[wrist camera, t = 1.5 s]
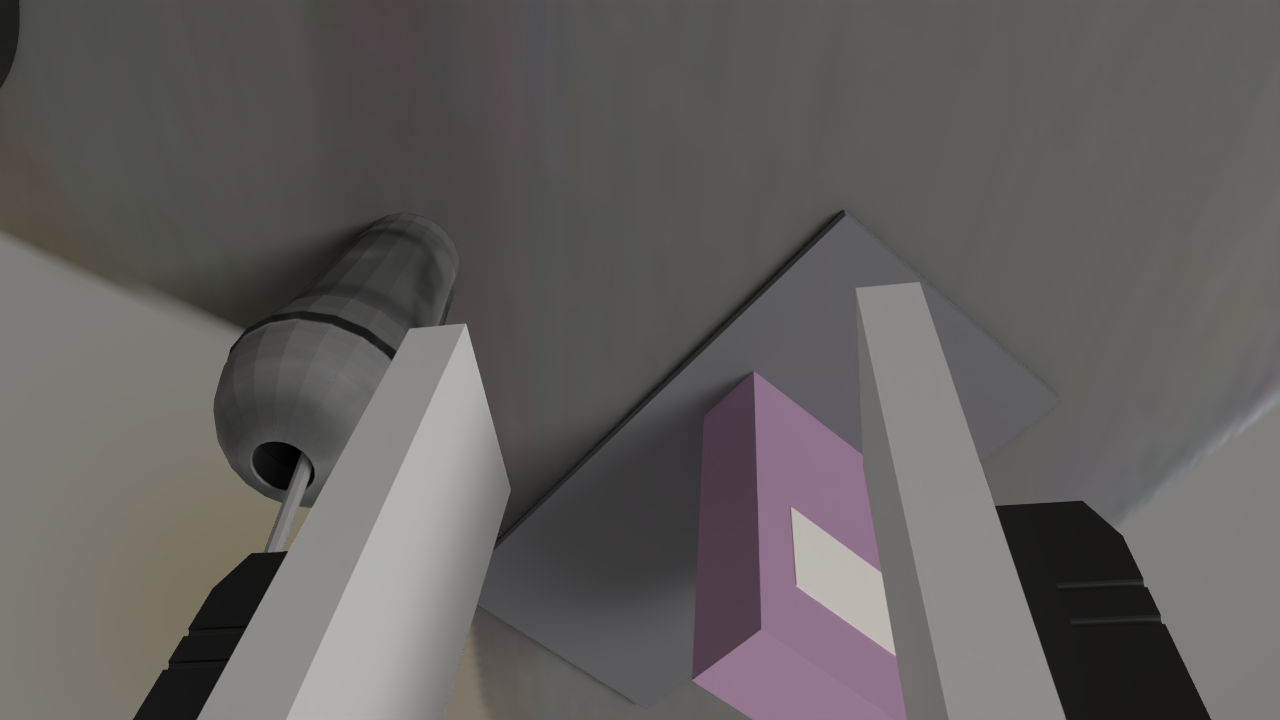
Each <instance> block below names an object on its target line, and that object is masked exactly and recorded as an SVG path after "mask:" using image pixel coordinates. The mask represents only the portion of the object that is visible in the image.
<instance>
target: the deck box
mask: <svg viewBox="0 0 1280 720" xmlns="http://www.w3.org/2000/svg"><path fill="white" fill-rule="evenodd" d="M692 681H694V682H695V683H697V684H698V685H700V686H701V687H703V688H704V689H706V690H708V691H709V692H711V693H712V694H714V695H715V696H717V697H718V698H720V699H722V700H723V701H725V702H726V703H728V704H729V705H731V706H733V707H734V708H736V709H737V710H739V711H740V712H742V713H743V714H745V715H747V716H748V717H750V718H751V719H753V720H907V717H906V711H905V705H904V699H903V694H902V688H901V682H900V676H899V671H898V665H897V659H896V653H895V647H894V642H893V636H892V630H891V624H890V619H889V613H888V607H887V601H886V596H885V590H884V584H883V578H882V573H881V567H880V561H879V555H878V550H877V544H876V538H875V532H874V527H873V521H872V515H871V509H870V504H869V498H868V492H867V486H866V481H865V475H864V469H863V455H862V454H861V453H859V452H858V451H857V450H855V449H854V448H853V447H852V446H850V445H849V444H848V443H846V442H845V441H844V440H843V439H841V438H840V437H839V436H837V435H836V434H835V433H834V432H832V431H831V430H830V429H828V428H827V427H826V426H825V425H823V424H822V423H821V422H819V421H818V420H817V419H815V418H814V417H813V416H812V415H810V414H809V413H808V412H806V411H805V410H804V409H803V408H801V407H800V406H799V405H797V404H796V403H795V402H794V401H792V400H791V399H790V398H788V397H787V396H786V395H785V394H783V393H782V392H781V391H779V390H778V389H777V388H775V387H774V386H773V385H772V384H770V383H769V382H768V381H766V380H765V379H764V378H763V377H761V376H760V375H759V374H757V373H756V372H755V371H753V372H752V373H751V374H750V375H749V376H748V377H746V378H745V379H744V380H743V381H742V382H741V383H740V384H739V385H738V386H737V387H735V388H734V389H733V390H732V391H731V392H730V393H729V394H728V395H727V396H726V397H724V398H723V399H722V400H721V401H720V402H719V403H718V404H717V405H716V406H715V407H713V408H712V409H711V410H710V411H709V412H708V413H707V414H706V415H705V416H704V426H703V448H702V470H701V492H700V514H699V536H698V558H697V580H696V602H695V624H694V646H693V668H692Z"/></svg>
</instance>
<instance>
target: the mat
mask: <svg viewBox="0 0 1280 720" xmlns="http://www.w3.org/2000/svg"><path fill="white" fill-rule="evenodd" d="M914 282H920V284H921V287H922V290H923V293H924V296H925V299H926V302H927V305H928V308H929V311H930V314H931V317H932V320H933V323H934V326H935V329H936V332H937V335H938V338H939V341H940V344H941V347H942V350H943V353H944V356H945V359H946V362H947V365H948V368H949V371H950V374H951V377H952V380H953V383H954V386H955V389H956V392H957V395H958V398H959V401H960V404H961V407H962V410H963V413H964V416H965V419H966V422H967V425H968V428H969V431H970V434H971V437H972V440H973V443H974V446H975V449H976V452H977V455H978V458H979V461H980V462H981V461H983V460H984V459H985V458H987V457H988V456H989V455H991V454H992V453H993V452H995V451H996V450H997V449H999V448H1000V447H1001V446H1003V445H1004V444H1005V443H1007V442H1008V441H1010V440H1011V439H1012V438H1014V437H1015V436H1016V435H1018V434H1019V433H1020V432H1022V431H1023V430H1024V429H1026V428H1027V427H1028V426H1030V425H1031V424H1032V423H1034V422H1035V421H1037V420H1038V419H1039V418H1041V417H1042V416H1043V415H1045V414H1046V413H1047V412H1049V411H1050V410H1051V409H1053V408H1054V407H1055V406H1057V405H1058V404H1059V403H1061V400H1060V398H1059V396H1058V394H1057V393H1055V392H1054V391H1053V390H1052V389H1051V388H1050V387H1048V386H1047V385H1046V384H1045V383H1044V382H1043V381H1042V380H1040V379H1039V378H1038V377H1037V376H1036V375H1035V374H1033V373H1032V372H1031V371H1030V370H1029V369H1028V368H1027V367H1025V366H1024V365H1023V364H1022V363H1021V362H1020V361H1018V360H1017V359H1016V358H1015V357H1014V356H1013V355H1012V354H1010V353H1009V352H1008V351H1007V350H1006V349H1005V348H1003V347H1002V346H1001V345H1000V344H999V343H998V342H997V341H995V340H994V339H993V338H992V337H991V336H990V335H988V334H987V333H986V332H985V331H984V330H983V329H982V328H980V327H979V326H978V325H977V324H976V323H975V322H973V321H972V320H971V319H970V318H969V317H968V316H967V315H965V314H964V313H963V312H962V311H961V310H960V309H958V308H957V307H956V306H955V305H954V304H953V303H952V302H950V301H949V300H948V299H947V298H946V297H945V296H943V295H942V294H941V293H940V292H939V291H938V290H937V289H935V288H934V287H933V286H932V285H931V284H930V283H928V282H927V281H926V280H925V279H924V278H923V277H922V276H920V275H919V274H918V273H917V272H916V271H915V270H913V269H912V268H911V267H910V266H909V265H908V264H907V263H905V262H904V261H903V260H902V259H901V258H900V257H898V256H897V255H896V254H895V253H894V252H893V251H891V250H890V249H889V248H888V247H887V246H886V245H885V244H883V243H882V242H881V241H880V240H879V239H878V238H876V237H875V236H874V235H873V234H872V233H871V232H870V231H868V230H867V229H866V228H865V227H864V226H863V225H861V224H860V223H859V222H858V221H857V220H856V219H855V218H853V217H852V216H851V215H850V214H849V213H848V212H846V211H845V210H844V211H842V212H841V213H840V214H839V215H838V216H837V217H836V218H835V219H834V220H833V221H832V222H831V223H830V224H829V225H828V226H827V227H826V228H825V229H824V230H823V231H822V232H821V233H819V234H818V235H817V236H816V237H815V238H814V239H813V240H812V241H811V242H810V243H809V244H808V245H807V246H806V247H805V248H804V249H803V250H802V251H801V252H800V253H799V254H798V255H796V256H795V257H794V258H793V259H792V260H791V261H790V262H789V263H788V264H787V265H786V266H785V267H784V268H783V269H782V270H781V271H780V272H779V273H778V274H777V275H776V276H775V277H774V278H772V279H771V280H770V281H769V282H768V283H767V284H766V285H765V286H764V287H763V288H762V289H761V290H760V291H759V292H758V293H757V294H756V295H755V296H754V297H753V298H752V299H751V300H749V301H748V302H747V303H746V304H745V305H744V306H743V307H742V308H741V309H740V310H739V311H738V312H737V313H736V314H735V315H734V316H733V317H732V318H731V319H730V320H729V321H728V322H726V323H725V324H724V325H723V326H722V327H721V328H720V329H719V330H718V331H717V332H716V333H715V334H714V335H713V336H712V337H711V338H710V339H709V340H708V341H707V342H706V343H705V344H703V345H702V346H701V347H700V348H699V349H698V350H697V351H696V352H695V353H694V354H693V355H692V356H691V357H690V358H689V359H688V360H687V361H686V362H685V363H684V364H683V365H682V366H680V367H679V368H678V369H677V370H676V371H675V372H674V373H673V374H672V375H671V376H670V377H669V378H668V379H667V380H666V381H665V382H664V383H663V384H662V385H661V386H660V387H659V388H657V389H656V390H655V391H654V392H653V393H652V394H651V395H650V396H649V397H648V398H647V399H646V400H645V401H644V402H643V403H642V404H641V405H640V406H639V407H638V408H637V409H636V410H634V411H633V412H632V413H631V414H630V415H629V416H628V417H627V418H626V419H625V420H624V421H623V422H622V423H621V424H620V425H619V426H618V427H617V428H616V429H615V430H614V431H613V432H611V433H610V434H609V435H608V436H607V437H606V438H605V439H604V440H603V441H602V442H601V443H600V444H599V445H598V446H597V447H596V448H595V449H594V450H593V451H592V452H591V453H590V454H588V455H587V456H586V457H585V458H584V459H583V460H582V461H581V462H580V463H579V464H578V465H577V466H576V467H575V468H574V469H573V470H572V471H571V472H570V473H569V474H568V475H567V476H565V477H564V478H563V479H562V480H561V481H560V482H559V483H558V484H557V485H556V486H555V487H554V488H553V489H552V490H551V491H550V492H549V493H548V494H547V495H546V496H545V497H544V498H542V499H541V500H540V501H539V502H538V503H537V504H536V505H535V506H534V507H533V508H532V509H531V510H530V511H529V512H528V513H527V514H526V515H525V516H524V517H523V518H522V519H521V520H519V521H518V522H517V523H516V524H515V525H514V526H513V527H512V528H511V529H510V530H509V531H508V532H507V533H506V534H505V535H504V536H503V537H502V538H501V539H500V540H499V541H498V542H496V543H495V545H494V548H493V552H492V555H491V559H490V562H489V565H488V569H487V572H486V575H485V579H484V582H483V586H482V589H481V592H480V596H479V599H478V603H477V605H478V606H480V607H482V608H483V609H485V610H486V611H488V612H490V613H491V614H493V615H494V616H496V617H498V618H499V619H501V620H503V621H504V622H506V623H507V624H509V625H511V626H512V627H514V628H515V629H517V630H519V631H520V632H522V633H523V634H525V635H527V636H528V637H530V638H532V639H533V640H535V641H536V642H538V643H540V644H541V645H543V646H544V647H546V648H548V649H549V650H551V651H553V652H554V653H556V654H557V655H559V656H561V657H562V658H564V659H565V660H567V661H569V662H570V663H572V664H573V665H575V666H577V667H578V668H580V669H582V670H583V671H585V672H586V673H588V674H590V675H591V676H593V677H594V678H596V679H598V680H599V681H601V682H602V683H604V684H606V685H607V686H609V687H611V688H612V689H614V690H615V691H617V692H619V693H620V694H622V695H623V696H625V697H627V698H628V699H630V700H632V701H633V702H635V703H636V704H638V705H640V706H641V707H643V708H644V709H648V708H649V707H650V706H652V705H653V704H654V703H656V702H657V701H658V700H660V699H661V698H663V697H664V696H665V695H667V694H668V693H669V692H671V691H672V690H673V689H675V688H676V687H677V686H679V685H680V684H681V683H683V682H684V681H685V680H687V679H688V678H690V677H691V676H692V668H693V646H694V624H695V602H696V580H697V558H698V536H699V514H700V492H701V470H702V448H703V426H704V416H705V415H706V414H707V413H708V412H709V411H710V410H711V409H712V408H713V407H715V406H716V405H717V404H718V403H719V402H720V401H721V400H722V399H723V398H724V397H726V396H727V395H728V394H729V393H730V392H731V391H732V390H733V389H734V388H735V387H737V386H738V385H739V384H740V383H741V382H742V381H743V380H744V379H745V378H746V377H748V376H749V375H750V374H751V373H752V372H753V371H755V372H756V373H757V374H759V375H760V376H761V377H763V378H764V379H765V380H766V381H768V382H769V383H770V384H772V385H773V386H774V387H775V388H777V389H778V390H779V391H781V392H782V393H783V394H785V395H786V396H787V397H788V398H790V399H791V400H792V401H794V402H795V403H796V404H797V405H799V406H800V407H801V408H803V409H804V410H805V411H806V412H808V413H809V414H810V415H812V416H813V417H814V418H815V419H817V420H818V421H819V422H821V423H822V424H823V425H825V426H826V427H827V428H828V429H830V430H831V431H832V432H834V433H835V434H836V435H837V436H839V437H840V438H841V439H843V440H844V441H845V442H846V443H848V444H849V445H850V446H852V447H853V448H854V449H855V450H857V451H858V452H859V453H861V454H862V430H861V406H860V382H859V358H858V334H857V310H856V288H860V287H871V286H882V285H893V284H904V283H914ZM862 455H863V454H862Z"/></svg>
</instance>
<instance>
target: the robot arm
mask: <svg viewBox="0 0 1280 720" xmlns="http://www.w3.org/2000/svg"><path fill="white" fill-rule="evenodd" d="M18 34H19V0H0V87H1V86H2V84H3V83H4V81H5V79H6V77H7V75H8V73H9V70H10V68H11V65H12V63H13V59H14V56H15V52H16V47H17V42H18ZM856 310H857V334H858V358H859V382H860V406H861V430H862V454H863V469H864V475H865V481H866V486H867V492H868V498H869V504H870V509H871V515H872V521H873V527H874V532H875V538H876V544H877V550H878V555H879V561H880V567H881V573H882V578H883V584H884V590H885V596H886V601H887V607H888V613H889V619H890V624H891V630H892V636H893V642H894V647H895V653H896V659H897V665H898V671H899V676H900V682H901V688H902V694H903V699H904V705H905V711H906V717H907V720H1211V719H1210V716H1209V714H1208V712H1207V710H1206V708H1205V706H1204V704H1203V702H1202V700H1201V698H1200V696H1199V694H1198V692H1197V689H1196V687H1195V685H1194V683H1193V681H1192V679H1191V677H1190V675H1189V673H1188V671H1187V669H1186V666H1185V665H1184V662H1183V660H1182V658H1181V656H1180V654H1179V652H1178V650H1177V648H1176V646H1175V644H1174V642H1173V639H1172V637H1171V635H1170V634H1169V631H1168V629H1167V627H1166V625H1165V624H1162V623H1161V617H1160V616H1161V615H1160V612H1159V610H1158V608H1157V606H1156V604H1155V602H1154V600H1153V598H1152V596H1151V594H1150V592H1149V590H1148V587H1144V584H1143V577H1142V575H1141V573H1140V571H1139V569H1138V567H1137V565H1136V563H1135V561H1134V559H1133V556H1132V554H1131V552H1130V550H1129V548H1128V546H1127V544H1126V542H1125V540H1124V538H1123V536H1122V535H1121V534H1120V533H1119V532H1118V531H1116V530H1115V529H1114V528H1113V527H1112V526H1111V525H1110V524H1108V523H1107V522H1106V521H1105V520H1104V519H1103V518H1102V517H1100V516H1099V515H1098V514H1097V513H1096V512H1095V511H1094V510H1092V509H1091V508H1090V507H1089V506H1088V505H1087V504H1086V503H1084V502H1083V501H1070V502H1053V503H1037V504H1020V505H1003V506H994V503H993V500H992V497H991V494H990V491H989V488H988V485H987V482H986V479H985V476H984V473H983V470H982V467H981V464H980V461H979V458H978V455H977V452H976V449H975V446H974V443H973V440H972V437H971V434H970V431H969V428H968V425H967V422H966V419H965V416H964V413H963V410H962V407H961V404H960V401H959V398H958V395H957V392H956V389H955V386H954V383H953V380H952V377H951V374H950V371H949V368H948V365H947V362H946V359H945V356H944V353H943V350H942V347H941V344H940V341H939V338H938V335H937V332H936V329H935V326H934V323H933V320H932V317H931V314H930V311H929V308H928V305H927V302H926V299H925V296H924V293H923V290H922V287H921V284H920V282H914V283H904V284H893V285H882V286H871V287H860V288H856ZM510 491H511V488H510V485H509V481H508V477H507V474H506V470H505V466H504V463H503V459H502V455H501V451H500V448H499V444H498V440H497V437H496V433H495V429H494V426H493V422H492V418H491V414H490V411H489V407H488V403H487V400H486V396H485V392H484V389H483V385H482V381H481V377H480V374H479V370H478V366H477V363H476V359H475V355H474V352H473V348H472V344H471V341H470V337H469V333H468V329H467V326H466V324H455V325H444V326H433V327H423V328H412V329H409V331H408V332H407V334H406V336H405V338H404V340H403V342H402V343H401V345H400V347H399V349H398V351H397V353H396V354H395V356H394V358H393V360H392V362H391V364H390V366H389V367H388V369H387V371H386V373H385V375H384V377H383V378H382V380H381V382H380V384H379V386H378V388H377V389H376V391H375V393H374V395H373V397H372V399H371V400H370V402H369V404H368V406H367V408H366V410H365V411H364V413H363V415H362V417H361V419H360V421H359V422H358V424H357V426H356V428H355V430H354V432H353V434H352V435H351V437H350V439H349V441H348V443H347V445H346V446H345V448H344V450H343V452H342V454H341V456H340V457H339V459H338V461H337V463H336V465H335V467H334V468H333V470H332V472H331V474H330V476H329V478H328V479H327V481H326V483H325V485H324V487H323V489H322V490H321V492H320V494H319V496H318V498H317V500H316V501H315V503H314V505H313V507H312V509H311V511H310V513H309V515H308V516H307V518H306V520H305V522H304V524H303V525H302V528H301V529H300V531H299V533H298V535H297V536H296V538H295V540H294V542H293V544H292V546H291V548H290V549H289V551H284V552H267V553H251V554H250V555H249V556H248V557H247V558H246V559H245V560H244V561H242V562H241V563H240V564H239V565H238V566H237V567H236V568H235V569H234V570H233V571H231V572H230V573H229V574H228V575H227V576H226V577H225V578H224V579H223V580H222V581H221V582H219V584H217V585H216V586H215V587H214V588H213V589H212V591H211V592H210V594H209V596H208V597H207V599H206V600H205V602H204V604H203V605H202V607H201V609H200V611H199V612H198V613H197V615H196V617H195V618H194V620H193V622H192V624H191V625H190V627H189V628H188V629H189V635H188V636H184V637H183V638H182V640H181V641H180V643H179V645H178V647H177V648H176V650H175V651H174V653H173V655H172V656H171V658H170V660H169V668H168V670H163V671H162V673H161V674H160V676H159V678H158V679H157V681H156V682H155V684H154V686H153V688H152V689H151V691H150V692H149V694H148V696H147V697H146V699H145V701H144V702H143V704H142V705H141V707H140V709H139V710H138V712H137V714H136V715H135V717H134V719H133V720H443V718H444V714H445V711H446V707H447V704H448V701H449V697H450V694H451V691H452V687H453V684H454V680H455V677H456V673H457V670H458V667H459V663H460V660H461V657H462V653H463V650H464V647H465V643H466V640H467V636H468V633H469V630H470V626H471V623H472V619H473V616H474V613H475V609H476V606H477V603H478V599H479V596H480V592H481V589H482V586H483V582H484V579H485V575H486V572H487V569H488V565H489V562H490V559H491V555H492V552H493V548H494V545H495V542H496V538H497V535H498V531H499V528H500V525H501V521H502V518H503V515H504V511H505V508H506V504H507V501H508V498H509V494H510Z"/></svg>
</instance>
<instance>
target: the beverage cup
mask: <svg viewBox="0 0 1280 720" xmlns="http://www.w3.org/2000/svg"><path fill="white" fill-rule="evenodd" d="M458 274H459V257H458V254H457V250H456V247H455V245H454V243H453V242H452V240H451V239H450V238H449V236H448V235H447V233H446V232H445V231H444V230H442V229H441V228H440V227H439V226H438V225H436V224H435V223H434V222H432V221H430V220H428V219H425V218H423V217H421V216H418V215H412V214H405V213H401V214H395V215H388V216H386V217H384V218H382V219H380V220H379V221H377V222H375V223H374V224H373V226H372V227H371V228H369V229H368V230H367V231H365V232H363V233H362V234H360V235H359V236H358V237H357V238H356V239H355V240H354V241H353V242H352V243H351V244H350V245H349V246H348V247H347V248H346V249H345V250H344V251H343V252H342V253H341V254H340V255H339V256H337V257H336V258H335V259H334V260H333V261H332V262H331V263H330V264H329V265H328V266H327V267H326V268H325V269H324V270H323V271H322V272H321V273H320V274H319V275H318V276H317V277H316V278H315V279H314V280H313V281H312V282H311V283H310V284H308V285H307V286H306V287H305V288H304V289H303V290H302V291H301V292H300V293H299V294H298V295H297V296H296V297H295V298H294V299H293V300H292V301H291V302H290V303H289V304H288V305H286V306H284V307H282V308H280V309H278V310H277V311H275V312H274V313H272V314H271V315H269V316H268V317H266V318H265V319H263V320H262V321H260V322H258V323H256V324H254V325H252V326H251V327H249V328H247V329H246V330H245V332H244V333H243V334H242V335H241V336H240V338H239V339H238V340H237V341H236V342H235V344H234V345H233V346H232V347H231V349H230V353H229V356H228V360H227V362H226V364H225V366H224V368H223V371H222V374H221V377H220V381H219V385H218V388H217V392H216V395H215V399H214V417H215V425H216V431H217V438H218V442H219V444H220V446H221V448H222V450H223V452H224V454H225V456H226V458H227V460H228V462H229V464H230V466H231V468H232V469H233V470H234V471H235V472H236V473H237V474H238V475H239V476H240V477H241V478H242V480H244V482H245V483H246V484H248V485H249V486H251V487H252V488H254V489H255V490H257V491H258V492H260V493H261V494H263V495H264V496H266V497H268V498H271V499H273V500H276V501H279V502H281V503H282V505H281V508H280V511H279V513H278V516H277V519H276V521H275V524H274V527H273V529H272V532H271V534H270V537H269V539H268V542H267V545H266V547H265V550H264V553H267V552H282V551H283V549H284V546H285V543H286V540H287V538H288V535H289V532H290V530H291V527H292V524H293V521H294V519H295V516H296V513H297V510H298V508H299V506H300V507H307V508H312V507H313V505H314V503H315V501H316V500H317V498H318V496H319V494H320V492H321V490H322V489H323V487H324V485H325V483H326V481H327V479H328V478H329V476H330V474H331V472H332V470H333V468H334V467H335V465H336V463H337V461H338V459H339V457H340V456H341V454H342V452H343V450H344V448H345V446H346V445H347V443H348V441H349V439H350V437H351V435H352V434H353V432H354V430H355V428H356V426H357V424H358V422H359V421H360V419H361V417H362V415H363V413H364V411H365V410H366V408H367V406H368V404H369V402H370V400H371V399H372V397H373V395H374V393H375V391H376V389H377V388H378V386H379V384H380V382H381V380H382V378H383V377H384V375H385V373H386V371H387V369H388V367H389V366H390V364H391V362H392V360H393V358H394V356H395V354H396V353H397V351H398V349H399V347H400V345H401V343H402V342H403V340H404V338H405V336H406V334H407V332H408V331H409V329H412V328H423V327H433V326H444V324H445V321H446V318H447V314H448V311H449V308H450V305H451V302H452V298H453V295H454V292H455V284H456V279H457V276H458Z"/></svg>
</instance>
